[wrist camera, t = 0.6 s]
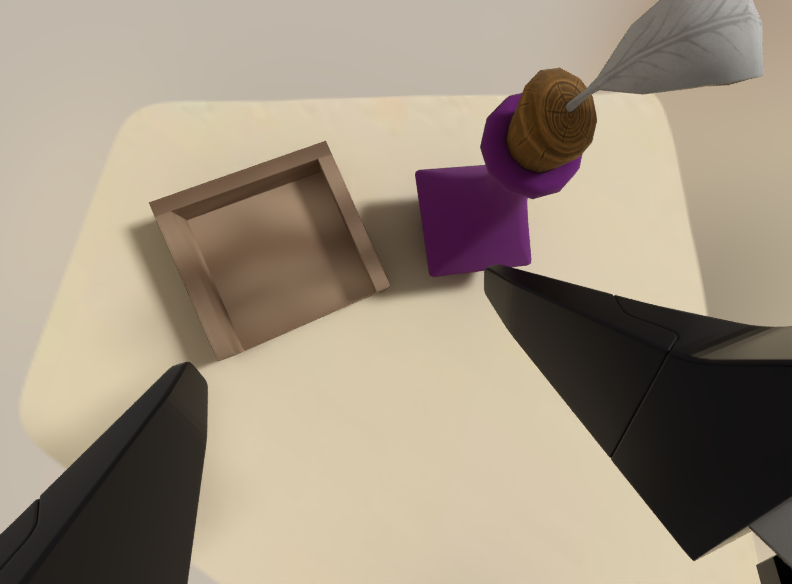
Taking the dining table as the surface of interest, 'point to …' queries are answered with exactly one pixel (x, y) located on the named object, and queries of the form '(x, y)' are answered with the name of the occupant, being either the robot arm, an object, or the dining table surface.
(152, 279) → the dining table surface
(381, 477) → the dining table surface
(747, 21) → the perfume bottle
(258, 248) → the wooden tray
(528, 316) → the robot arm
